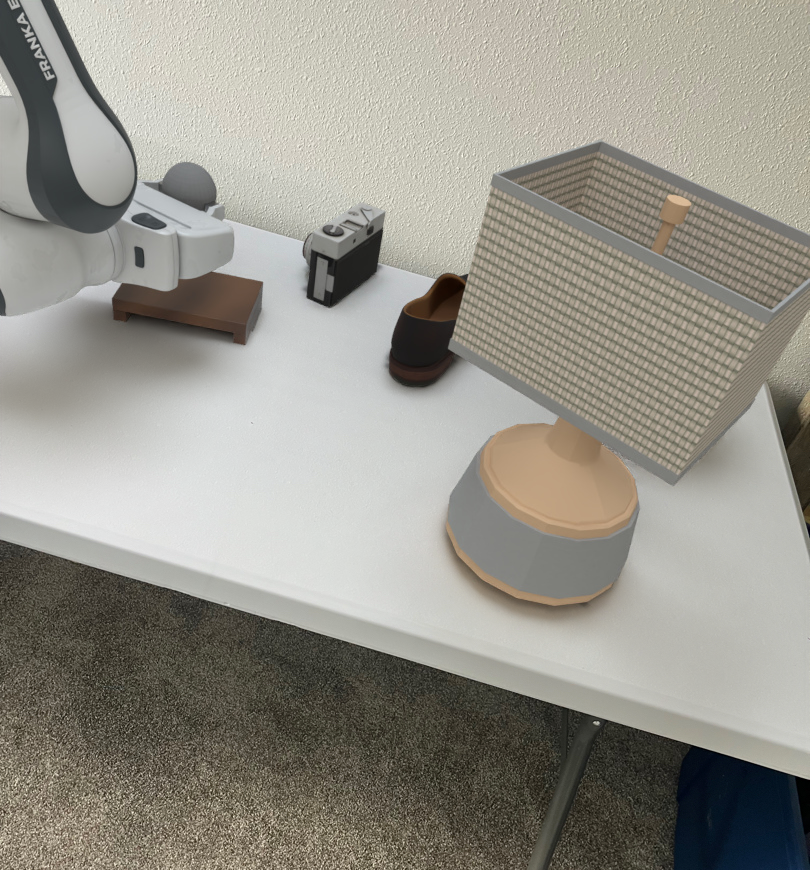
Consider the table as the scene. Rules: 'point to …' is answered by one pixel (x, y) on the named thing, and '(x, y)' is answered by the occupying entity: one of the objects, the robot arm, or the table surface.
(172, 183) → the light bulb
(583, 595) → the desk lamp
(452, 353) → the loafer
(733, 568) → the table surface
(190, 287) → the shelf
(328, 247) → the camera
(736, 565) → the table surface
